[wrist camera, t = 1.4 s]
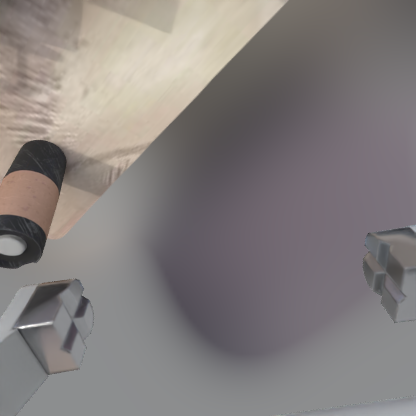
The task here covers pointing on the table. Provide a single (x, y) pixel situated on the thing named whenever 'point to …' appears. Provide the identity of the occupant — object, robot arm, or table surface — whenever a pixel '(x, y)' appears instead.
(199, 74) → the table surface
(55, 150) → the travel mug
